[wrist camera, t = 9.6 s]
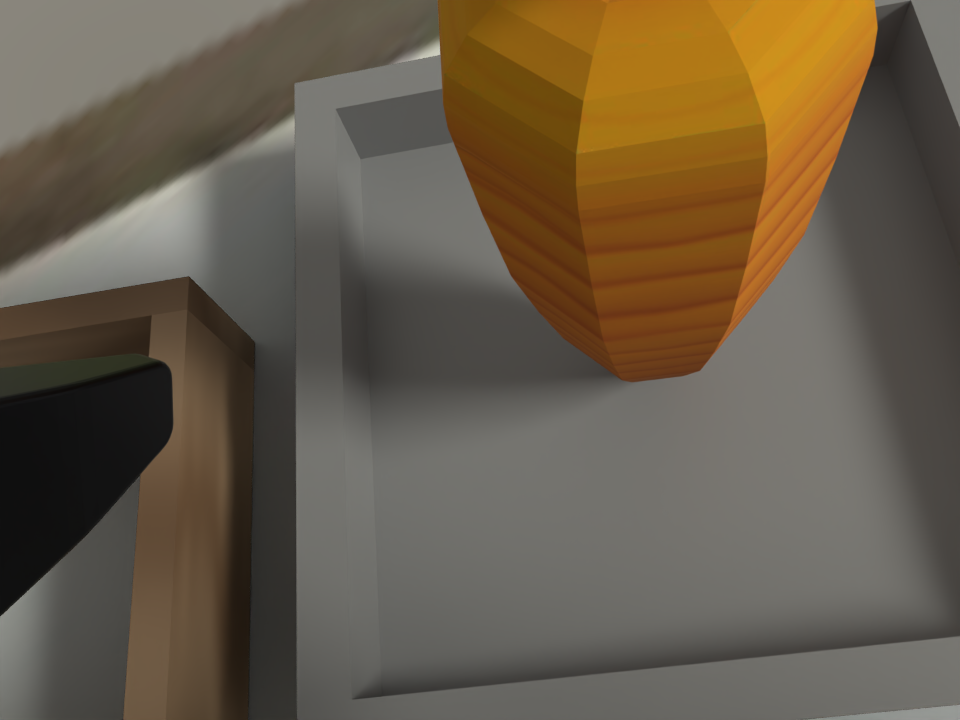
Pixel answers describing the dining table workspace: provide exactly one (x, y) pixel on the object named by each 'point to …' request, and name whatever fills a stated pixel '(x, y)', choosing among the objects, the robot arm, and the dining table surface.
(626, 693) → the grey tray
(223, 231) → the dining table surface
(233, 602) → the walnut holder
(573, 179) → the carrot
